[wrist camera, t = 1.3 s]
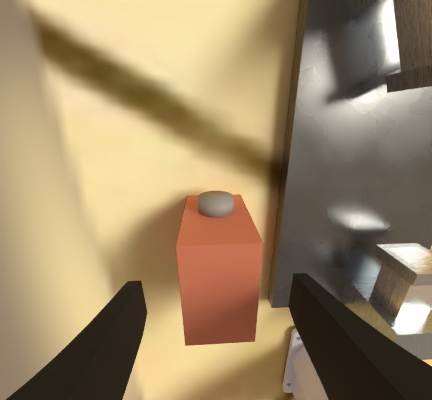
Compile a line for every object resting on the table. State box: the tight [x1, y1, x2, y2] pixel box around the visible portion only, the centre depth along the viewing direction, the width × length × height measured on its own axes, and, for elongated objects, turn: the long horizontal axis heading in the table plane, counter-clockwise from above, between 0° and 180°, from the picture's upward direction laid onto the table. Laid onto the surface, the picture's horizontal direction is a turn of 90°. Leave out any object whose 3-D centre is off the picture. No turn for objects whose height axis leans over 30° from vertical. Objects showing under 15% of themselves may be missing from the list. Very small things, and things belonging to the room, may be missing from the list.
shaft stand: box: [268, 0, 432, 360], centre depth 11 cm, size 24×12×6 cm, turn 1°
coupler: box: [176, 191, 263, 346], centre depth 12 cm, size 8×4×6 cm, turn 1°
